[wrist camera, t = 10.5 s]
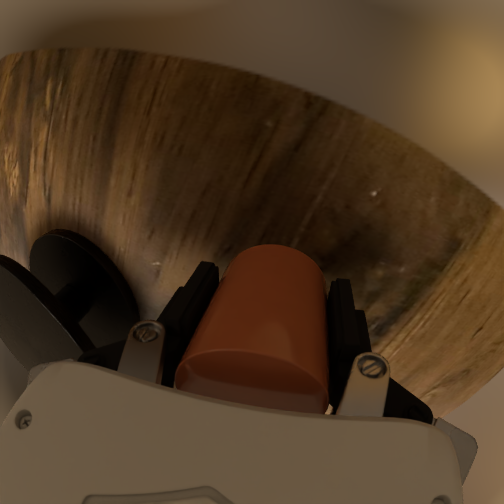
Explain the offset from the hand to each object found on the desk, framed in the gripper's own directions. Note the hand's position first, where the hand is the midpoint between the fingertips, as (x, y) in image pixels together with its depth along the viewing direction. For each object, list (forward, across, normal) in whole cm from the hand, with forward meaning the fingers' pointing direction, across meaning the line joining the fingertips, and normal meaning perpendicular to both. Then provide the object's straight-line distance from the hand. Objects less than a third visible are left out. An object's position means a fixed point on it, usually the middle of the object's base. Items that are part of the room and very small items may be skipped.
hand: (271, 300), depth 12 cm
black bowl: (+4, +16, +6) cm, 18 cm away
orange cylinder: (+1, 0, 0) cm, 1 cm away
